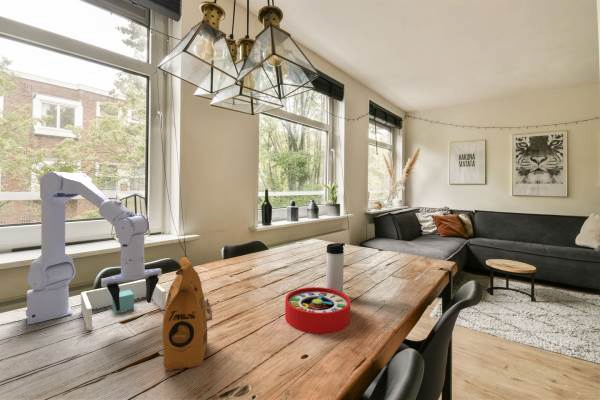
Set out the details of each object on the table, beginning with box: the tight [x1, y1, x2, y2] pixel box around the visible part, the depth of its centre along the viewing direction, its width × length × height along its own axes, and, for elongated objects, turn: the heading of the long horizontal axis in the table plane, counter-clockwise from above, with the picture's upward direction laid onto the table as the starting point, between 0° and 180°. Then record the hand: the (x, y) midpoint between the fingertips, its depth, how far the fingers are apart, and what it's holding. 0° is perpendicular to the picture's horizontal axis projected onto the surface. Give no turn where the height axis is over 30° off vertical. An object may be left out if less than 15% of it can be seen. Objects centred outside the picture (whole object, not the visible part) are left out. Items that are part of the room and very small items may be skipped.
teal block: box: [111, 290, 135, 314], centre depth 88 cm, size 5×5×5 cm
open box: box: [80, 279, 167, 332], centre depth 86 cm, size 20×16×6 cm
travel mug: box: [325, 242, 346, 293], centre depth 99 cm, size 6×7×20 cm
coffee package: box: [161, 256, 208, 371], centre depth 63 cm, size 10×12×22 cm
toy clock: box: [284, 286, 351, 335], centre depth 84 cm, size 20×6×20 cm
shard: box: [204, 298, 212, 320], centre depth 85 cm, size 13×9×2 cm
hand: (133, 305), depth 77 cm, fingers open, 7 cm apart
